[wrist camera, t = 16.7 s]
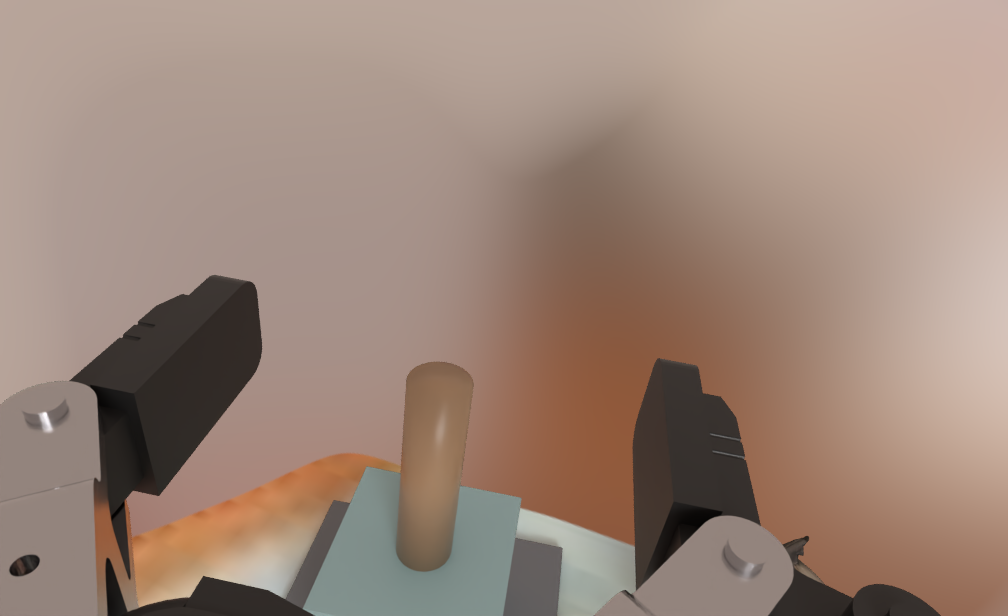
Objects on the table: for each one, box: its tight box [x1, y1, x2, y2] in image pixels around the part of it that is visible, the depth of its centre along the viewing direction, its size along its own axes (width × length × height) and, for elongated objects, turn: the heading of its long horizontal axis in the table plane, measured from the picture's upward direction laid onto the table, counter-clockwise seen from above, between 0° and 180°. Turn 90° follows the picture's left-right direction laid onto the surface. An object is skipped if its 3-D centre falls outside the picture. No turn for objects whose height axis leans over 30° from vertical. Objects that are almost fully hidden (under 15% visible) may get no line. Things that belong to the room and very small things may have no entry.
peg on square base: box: [303, 362, 521, 616], centre depth 36 cm, size 10×10×21 cm
